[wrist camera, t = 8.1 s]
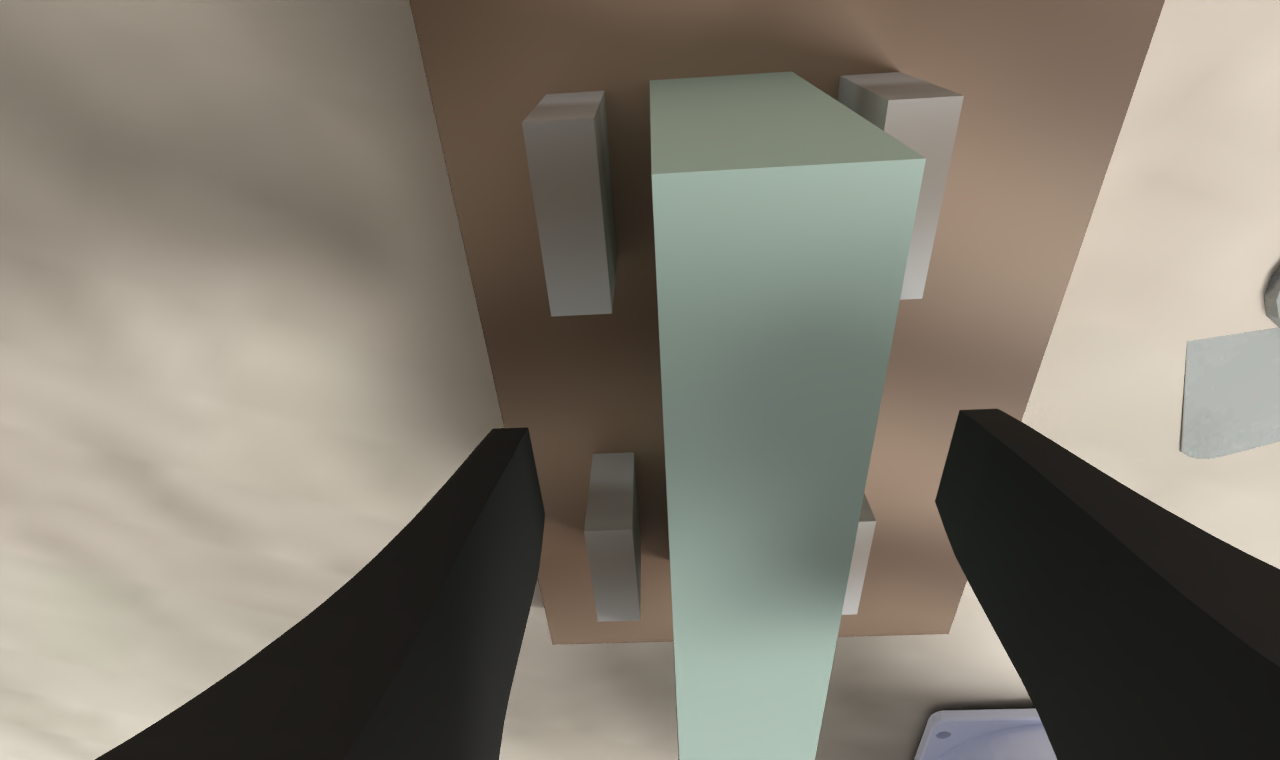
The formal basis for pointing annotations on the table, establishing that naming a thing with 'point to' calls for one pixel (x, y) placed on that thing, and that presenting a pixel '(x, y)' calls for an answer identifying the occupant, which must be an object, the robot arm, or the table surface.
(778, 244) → the door panel
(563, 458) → the cabinet base
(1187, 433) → the mounting bracket
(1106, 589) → the robot arm
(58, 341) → the table surface
